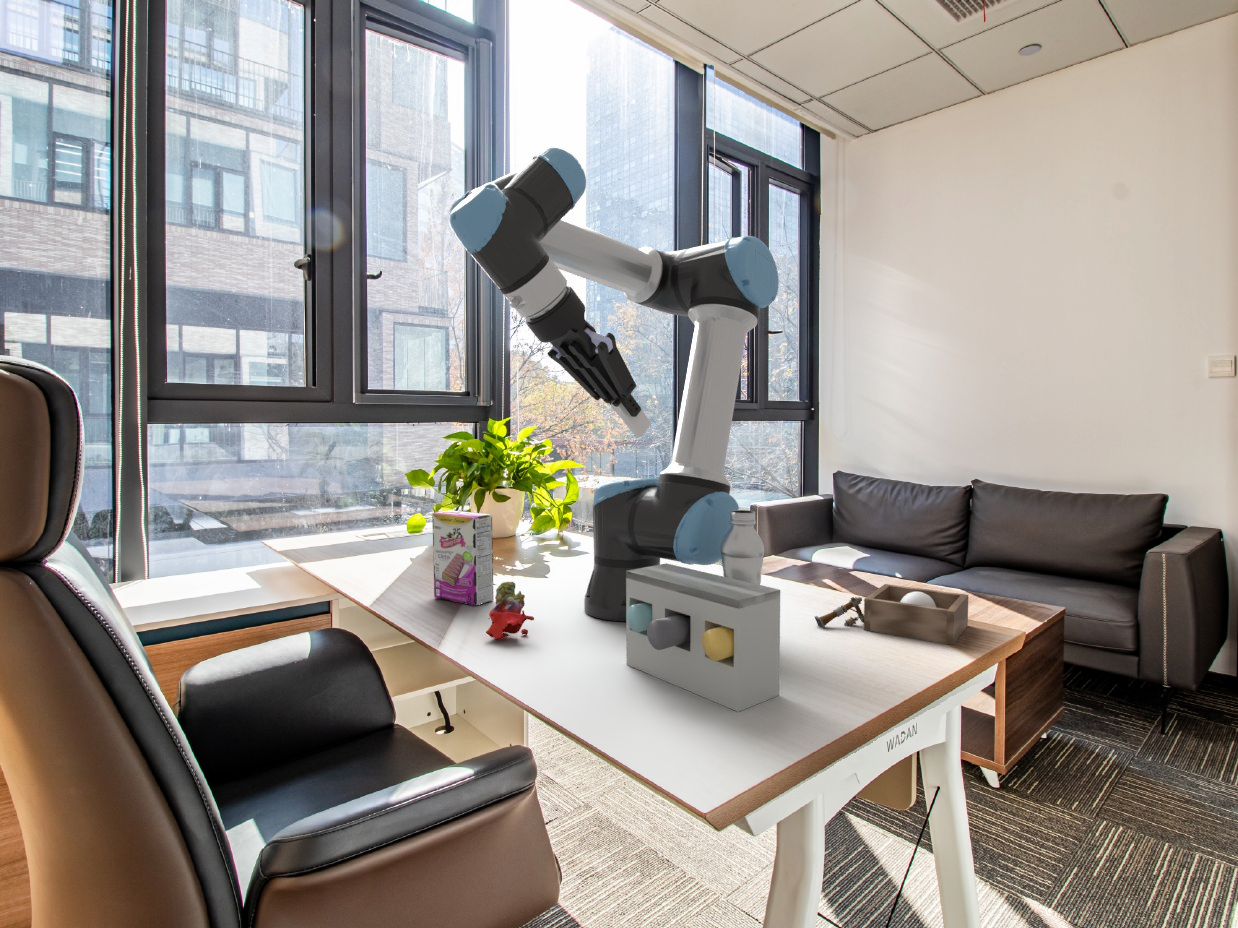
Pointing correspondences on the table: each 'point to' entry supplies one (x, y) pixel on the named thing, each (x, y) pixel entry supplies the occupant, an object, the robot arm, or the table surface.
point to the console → (709, 607)
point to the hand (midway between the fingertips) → (643, 429)
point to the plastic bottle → (742, 548)
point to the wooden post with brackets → (840, 610)
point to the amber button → (719, 643)
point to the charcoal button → (669, 631)
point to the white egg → (918, 599)
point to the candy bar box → (463, 556)
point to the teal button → (639, 616)
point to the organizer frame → (916, 614)
